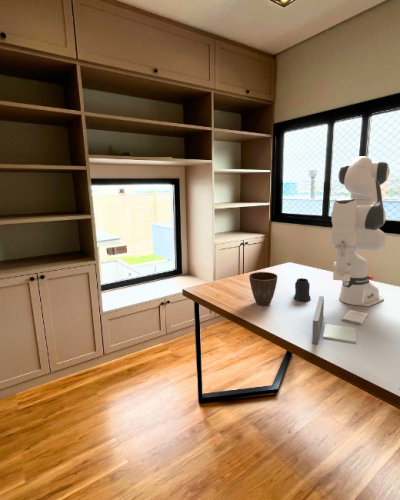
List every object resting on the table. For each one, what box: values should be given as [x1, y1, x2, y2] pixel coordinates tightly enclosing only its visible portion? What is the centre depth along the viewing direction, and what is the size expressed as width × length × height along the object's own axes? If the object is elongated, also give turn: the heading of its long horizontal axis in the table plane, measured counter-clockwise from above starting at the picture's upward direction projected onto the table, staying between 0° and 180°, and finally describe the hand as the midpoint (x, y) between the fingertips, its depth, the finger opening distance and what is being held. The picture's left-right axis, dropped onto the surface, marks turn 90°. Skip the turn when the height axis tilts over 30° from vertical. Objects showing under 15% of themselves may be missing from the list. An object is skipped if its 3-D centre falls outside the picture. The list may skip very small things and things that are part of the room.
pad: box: [322, 323, 357, 344], centre depth 122 cm, size 12×12×1 cm
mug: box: [293, 277, 312, 303], centre depth 162 cm, size 12×9×11 cm
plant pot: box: [248, 271, 278, 307], centre depth 157 cm, size 15×15×16 cm
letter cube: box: [332, 261, 351, 282], centre depth 117 cm, size 6×6×6 cm
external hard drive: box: [341, 309, 369, 326], centre depth 136 cm, size 2×8×12 cm
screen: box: [311, 295, 325, 345], centre depth 127 cm, size 28×2×10 cm, turn 153°
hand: (341, 273), depth 117 cm, fingers closed on letter cube, 6 cm apart
